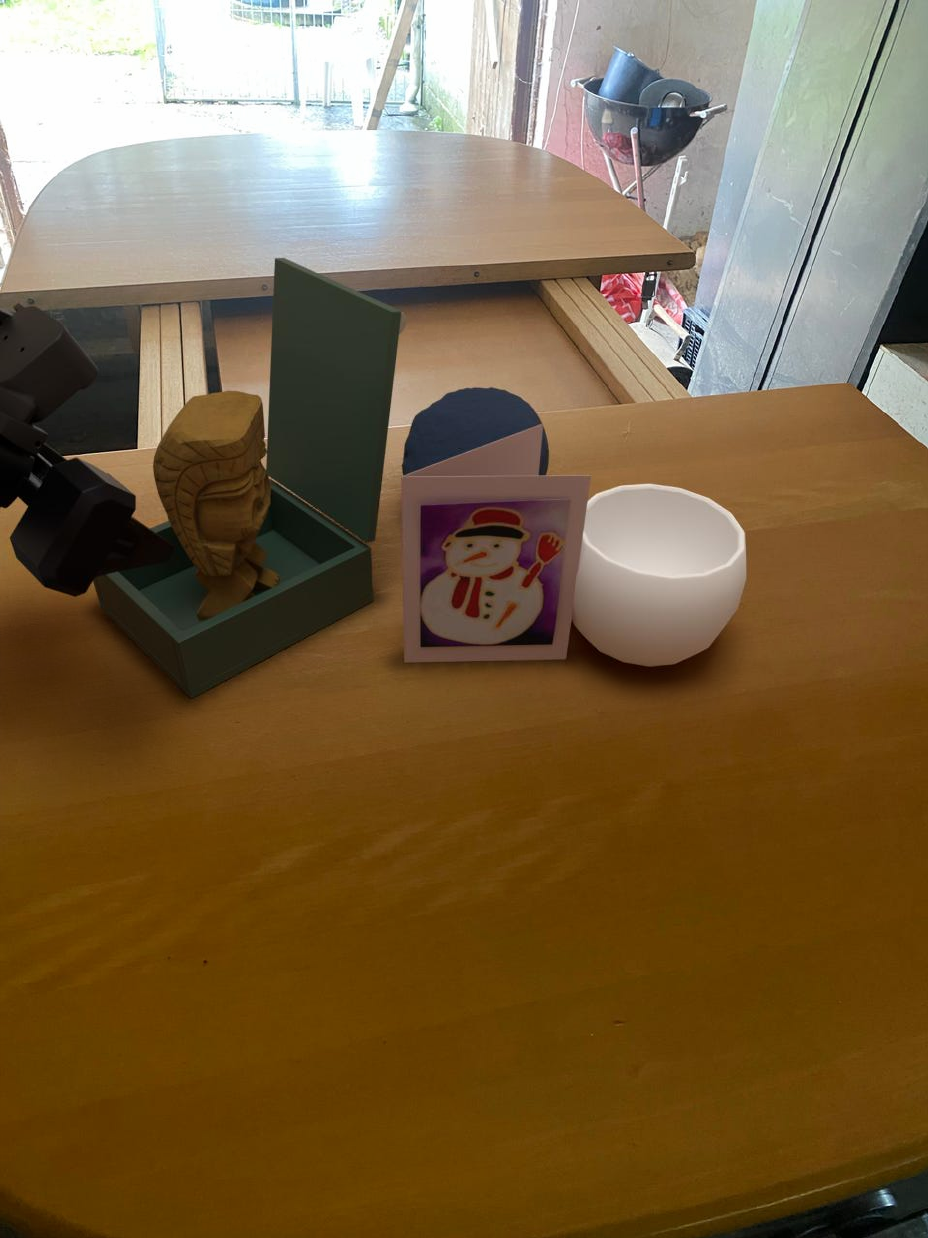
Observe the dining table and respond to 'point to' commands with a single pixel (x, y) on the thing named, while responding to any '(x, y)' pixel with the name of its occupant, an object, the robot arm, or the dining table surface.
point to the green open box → (255, 629)
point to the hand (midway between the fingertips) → (133, 522)
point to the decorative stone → (468, 426)
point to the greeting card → (490, 555)
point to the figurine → (218, 494)
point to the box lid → (330, 394)
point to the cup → (657, 573)
